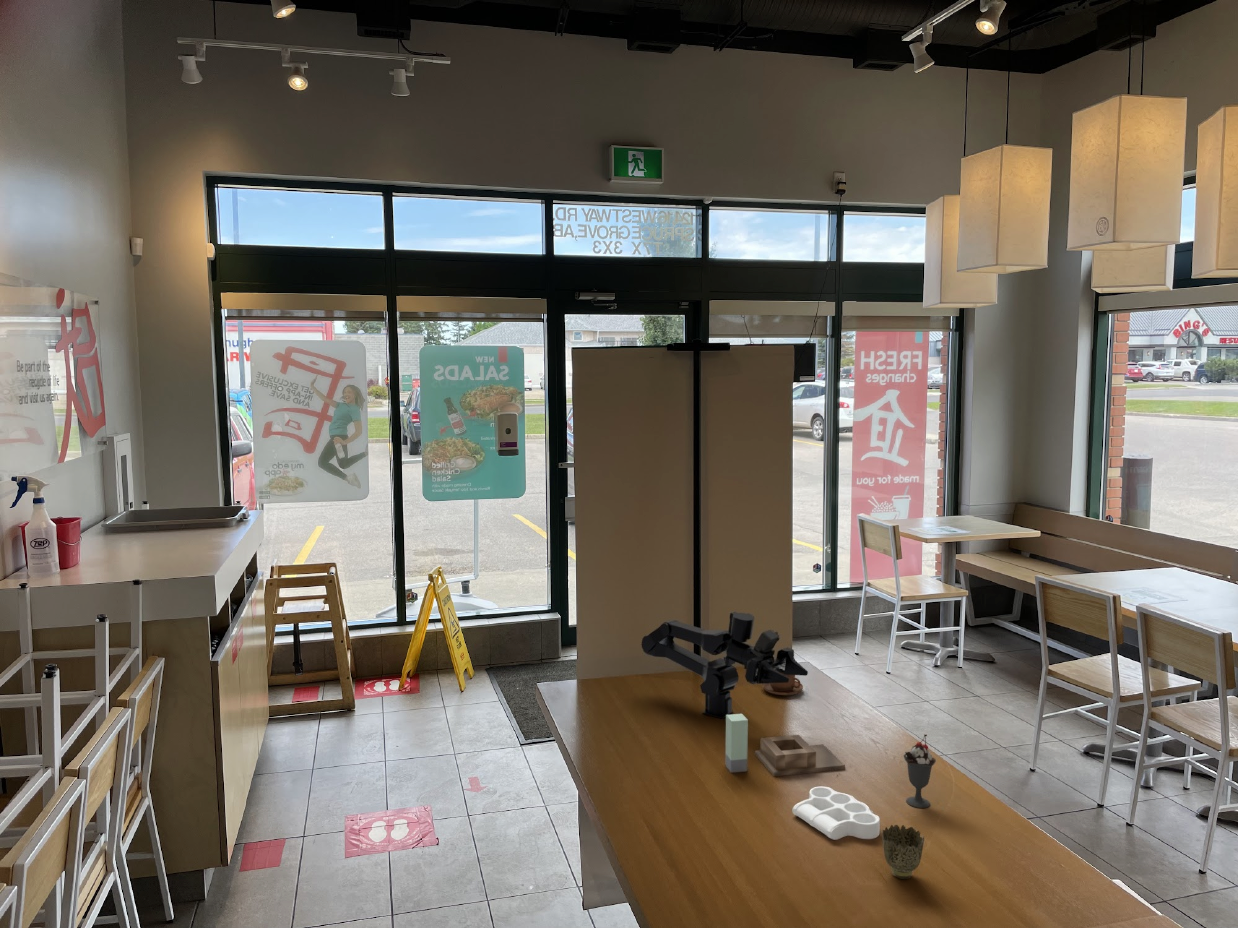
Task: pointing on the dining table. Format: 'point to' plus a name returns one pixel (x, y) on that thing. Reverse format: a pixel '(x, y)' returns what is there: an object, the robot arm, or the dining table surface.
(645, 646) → the robot arm
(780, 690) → the cup and saucer
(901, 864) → the cup
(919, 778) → the sundae
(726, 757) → the sage green square pillar
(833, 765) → the wooden socket base
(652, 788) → the dining table surface
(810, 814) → the white brass knuckles
